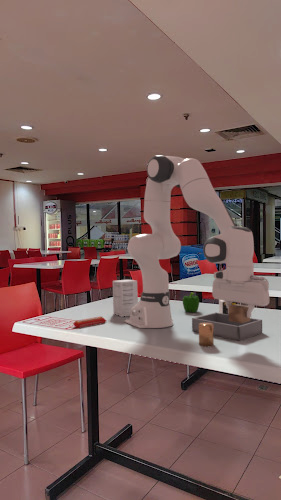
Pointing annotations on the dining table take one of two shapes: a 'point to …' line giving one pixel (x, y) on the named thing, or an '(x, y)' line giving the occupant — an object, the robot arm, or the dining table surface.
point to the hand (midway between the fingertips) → (239, 315)
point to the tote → (229, 326)
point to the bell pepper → (191, 303)
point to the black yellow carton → (224, 306)
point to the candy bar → (89, 322)
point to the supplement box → (124, 296)
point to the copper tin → (206, 334)
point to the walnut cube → (238, 313)
